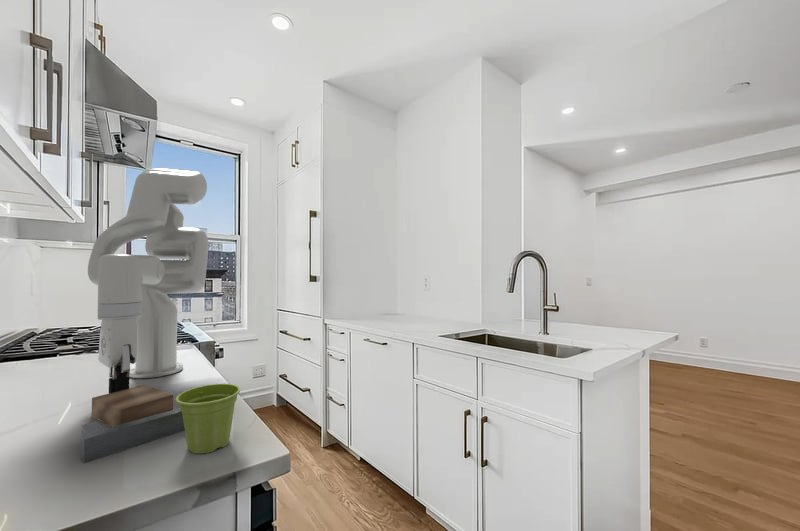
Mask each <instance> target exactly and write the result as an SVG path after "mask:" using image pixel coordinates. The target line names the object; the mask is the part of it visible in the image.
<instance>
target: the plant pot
mask: <svg viewBox="0 0 800 531" xmlns="http://www.w3.org/2000/svg"><path fill="white" fill-rule="evenodd" d="M240 391H241V387H240V386H239V385H237V384H233V383H232V384H230V383H214V384H206V385H201V386H196V387H193V388H190V389H187V390H185V391H182V392H180V393H179V394H178V395H177V396H176V397H175V402H176V403H177V404H178V406H179V407H178V408H180V410H181V411H182V415H183V422H184V428H185V430H184V433H185V440H186V446H187V450H188V451H190V452H191V453H193V454H198V455H199V454H207V453H211V452H214V451H216V450H217V449H218V448H224V447H225V446H226V445H228V444H229V442H230V440H231V432H232V425H233V424H232V423H233V417H234V411H235V403H236V401H237V399H238V395H239V394H240Z"/></svg>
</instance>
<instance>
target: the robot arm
mask: <svg viewBox="0 0 800 531" xmlns="http://www.w3.org/2000/svg"><path fill="white" fill-rule="evenodd" d="M207 190H208V185H207V180H206V178H205V176H204V175H203V174H202V173H201V172H198V171H190V170H181V169H180V170H179V169H171V168H170V169H169V168H149V169H145V170H143V171H142V172H141V173H139V174H138V175H137V177H136V178H135V181H134V185H133V189H132V192H131V196H130V200H129V204H128V207H127V212H126V215H125V216H124V217H122V218H121V219H119V220H117V221H115V222H114V223H113V224H111V225H110V226H108V228H106V229H105V230H103V231H102V233H100V234H99V235H98V236H97V237H96V239H95V242H94V243H93V246H92V249H91V253H90V256H89V259H88V264H87V276H88V278H89V280H90V282H91V283H93V284H94V285H96V286H97V320H99V321H101V323H100V330H99V331H100V332H99V345H98V361H99V363H101V364H102V365H104V366H105V367H107V368H108V373H109V375H108V376H109V378H108V394H109V393H113V392H117V391H121V390H125V389H129V388H130V378H133V379H150V378H158V377H159V378H160V377H164V376H169V375H173V374H175V373H178V372H181V371H182V370H183V369H184V366H183V365H184V364H183V363H181V362H178V361H177V357H178V356H177V354H178V353H177V350H178V307H177V305H176V303H175V302H174V301H173V300H172V299H171V297H170V296H168V295H169V294H194V293H199V292H201V291H202V290H203V289H204V287H205V284H206V280H207V279H206V278H207V277H206V276H207V267H208V257H209V238H208V235H207V234H206V232H205V231H204V230H203V229H200V228H196V227H184V226H183V225H184V214H183V213H182V211H181V210H180V209H179V207H178V206H176V205H195V204H198V202H200V201H202V200H203V199H204V198H205V196H206V193H207ZM144 237H146V238H145V244H144V245H145V246H144V247H145V252H146V254H147V255H146V254H143V255H142V254H127V253H126V254H125V253H122V254H121V253H120V254H119V253H116V252H117V251H118V250H119V248H121V247H122V246H124V245H125V244H128V243H130V242H132V241H135V240H138V239H141V238H144ZM131 364H132V365H133V364H134V365H135V366H134V367H133V368H131Z"/></svg>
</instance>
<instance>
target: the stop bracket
mask: <svg viewBox="0 0 800 531" xmlns="http://www.w3.org/2000/svg"><path fill="white" fill-rule="evenodd" d="M179 431H180V432H183V431H185V428H184V422H183V415H182V411H181V410H180V407H178V408H173V410H171V411H167V412H163V413H160V414H156V415H153V416H149V417H145V418H142V419H138V420H135V421H131V422H127V423H124V424H120V425H117V426H113V427H112V426H111V427H106V428H104V427H103V426H102V425H101V424H100V423H99V421H98V420H97V421H93V422H89V423H86V424H82V425H81V430H80V432H81V434H80V436H81V437H80V439H81V440H80V443H81V446H80V447H81V448H80V449H81V450H80V460H82V462H83V463H87V462H90V461H93V460H97V459H100V458H103V457H105V456H110V455H111V454H116V453H118V452H121V451H124V450H127V449H130V448H133V447H137V446H139V445H142V444H145V443H149V442H151V441H155V440H158V439H160V438H164V437H167V436H170V435H173V434H176V433H178V432H179Z"/></svg>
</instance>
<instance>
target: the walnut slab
mask: <svg viewBox="0 0 800 531" xmlns="http://www.w3.org/2000/svg"><path fill="white" fill-rule="evenodd" d="M171 410H174V394H173V393H170V392H168V391H167V392H166V391H163V390H161V389H158V388H154V387H151V386H147V385H145V384H142V385H138V386H134V387H129V389H125V390H121V391H117V392H113V393H109V392H108V393H106V394H102V395H97V396H94V397H91V418H95V419H96V420H97V421H101V422H103V423H105V424H106V425H108V426H111V427H112V426H117V425H120V424H124V423H127V422H131V421H135V420H138V419H142V418H145V417H149V416H153V415H156V414H160V413H163V412H167V411H171Z"/></svg>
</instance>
